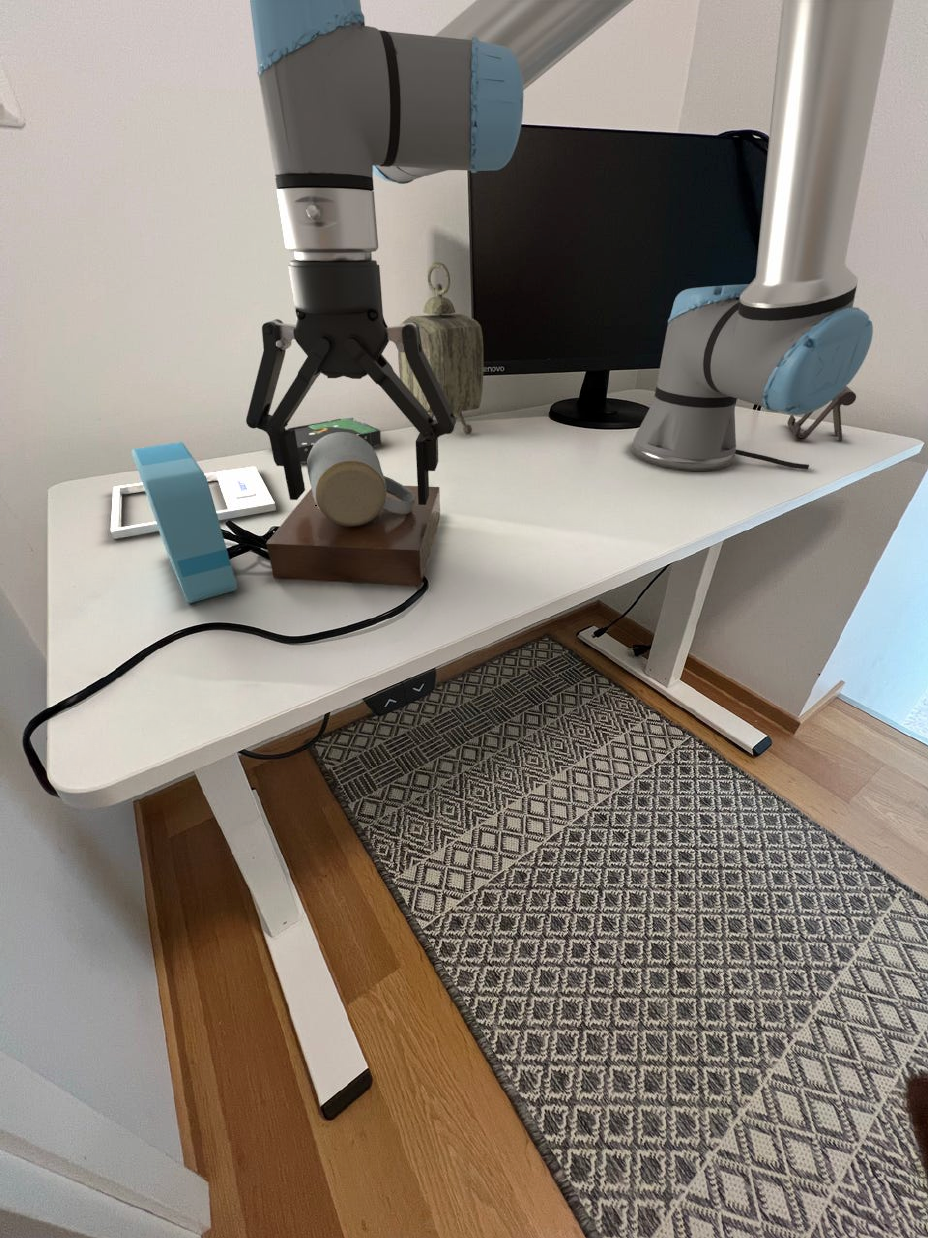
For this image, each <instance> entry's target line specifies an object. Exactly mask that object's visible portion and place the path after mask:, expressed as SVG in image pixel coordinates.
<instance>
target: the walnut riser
mask: <svg viewBox="0 0 928 1238" xmlns="http://www.w3.org/2000/svg"><path fill="white" fill-rule="evenodd" d="M404 486H405V487H406V488H407V489H409V490H410V491H411V492H412V493H413V495H414V497H415V502H414V505H413V507H412V510H411V511H410V512H409V513H408V514H395V513H390V512H387V511H385V510H381V511H380V513H379V514H378V515H377V516H376V517H375V518H374V519H373V520H371V521H370V522H368V523H366V524H363V525H360V526H350V527H347V526H342V525H338V524H336V523H334V522H332V521H330V520H329V519H328V518H326V517H325V516H324V515H323V514H322V512H321V511H320V509H319V508H318V507H317V506H315V505H316V503H315V500H314V497H313V493H312V488H311V487H310V489H309V490H308V492H307V493H306V494H305V495H304V496H303V498H302V499H301V500H300V501H299V503H298V504H297V505H296V506H295V507H294V509H293V510H292V511H291V512H290V514H289V515H288V516H287V517H286V519H285V520H284V521H283V522H282V524H280V526H279V527H278V528H277V530H276V531H275V532H274V533H273V534H272V536H271V537H270V538H269V539H268V540H267V542H266V543H265V544H266V545H265V546H266V550H267V554H268V558H269V562H270V567H271V571H272V576H273V579H275V580H290V581H293V580H294V581H314V582H332V583H333V582H334V583H351V584H352V583H353V584H373V585H390V586H391V585H392V586H395V585H396V586H411V587H412V586H414V587H415V586H416V587H422V585H423V581H424V577H425V574H426V570H427V566H428V562H429V559H430V555H431V552H432V548H433V546H434V541H435V537H436V534H437V530H438V526H439V523H440V519H441V498H440V497H441V496H440V492H441V491H440V486H429V497H428V500H427V503H426V505H418V485H404ZM386 495H387V497H389V498H393V499H397V500H400V499H399V498H397V497H395V496H394V495H392V494H390V493H388V492H386ZM401 501H402V500H401Z"/></svg>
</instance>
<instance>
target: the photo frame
mask: <svg viewBox="0 0 928 1238" xmlns="http://www.w3.org/2000/svg"><path fill="white" fill-rule="evenodd" d="M204 475H205V477H206V479H207V482H208V483H209V482H213V481H217V482H218V484H219V487H220V490H221V492H222V495H223V496H222V497H223V499H224V502H225V505H226V507H227V509H221V510H216V512H217V516H218V520H219V521H224V520H228V519H235V518H241V517H245V516H252V515H257V514H263V513H268V512H274V511H277V506H276V503H275V501H274V499H273V497H272V495H271V493H270V492H269V489H268V488H267V486H266V484H265V482H264V480H263V479H262V477H261V475H260V473H259V472H258V469H257V467H256V466H249V467H241V468H235V469H234V468H233V469H228V470H221V471H214V472H213V471H212V472H206V473H204ZM141 492H145V489H144V486H143V483H142V482H138V483H132V484H124V485H118V486H113V489H112V505H111V518H110V519H111V521H110V533H111V536H112V538H113V540H115V539H122V538H127V537H133V536H138V535H144V534H150V533H155V532H159V529H158V526H157V523H156V521H151V522H146V523H145V522H144V523H139V524H134V525H127V526H122V504H123V503H122V502H123V500H122V499H123V498H122V497H123V496H122V495H127V494H134V493H141Z"/></svg>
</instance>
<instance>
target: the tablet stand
mask: <svg viewBox="0 0 928 1238" xmlns="http://www.w3.org/2000/svg"><path fill="white" fill-rule="evenodd" d="M856 399H857V395H856V393H855V392H854V391H853V390H852V389H851V388H850V387H848V385H846V386H845V388H844V389H843V390H842V392H841V393H840V394H839V395H837V396H836V397H835V398H834V399H833V400H831V401H830V402H829V403H830V404H829V403H828V404H829V405H827V406H826V408H824V410H823V411H822V412H821V413H820V414H819V415H818V417H817V418H816V419H815V420H814V421H813V422H812V424H811V425H810V426H809V427H808V428H807V429H805V430H804V431H803V429H802V425H803V424H804V423H805V422H806V421H807V420H808V419H809V417H810V416H811V415H812V414H813V413H814V412H815V411H813V412H810V413H807V414H803V415H802V417H801V418H800V419H799V420H798V421H796V418H795V415H792V414H790V416H789V418H788V420H787V423H786V424H787V426H788V428H789V429H790V432H791V433H792V435H793V437H794V439H795V440H796V441H798V442H802V441H805V440H806V439H807V438H808V437H809V436H810V435H811V434H812V433H813V431H814V430H816V428H817V427H818V426H819V425H820V424H821V423H822V421H824V419H825V418H826V417H827V416H828V415H829V413H830V412H831V411H832V417H833V418H832V419H833V420H832V421H833V433H834V435H835V437H838V441H839V442H842V441H843V431H842V417H841V416H842V414H841V406H845V407H847V406H851V405H852V404H854V403H855V402H856Z"/></svg>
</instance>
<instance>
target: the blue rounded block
mask: <svg viewBox="0 0 928 1238" xmlns="http://www.w3.org/2000/svg"><path fill="white" fill-rule="evenodd" d="M131 454H132V457H133V460H134V464H135V466H136V469H137V472H138V475H139V477H140V481H141V483H143V486H144V489H145V491H144V492H145V494H146V495H145V496H146V497H147V500H148V504H149V506H150V508H151V512H152V514H153V518H154V520H155V522H156V523H157V526H158V529H159V531H158V532H159V535H160V537H161V540H162V544H163V546H164V548H165V551H166V554H167V557H168V559H169V562H170V564H171V567H172V569H173V572H174V574H175V576H176V579H177V581H178V583H179V584H178V585H179V586H180V588H181V591H182V594H183V596H184V598H185V600H186V603H188V604H191V603H195V602H196V603H197V602H200V601H202V600H206V599H210V598H213V597H217V596H221V595H224V594H228V593H231V592H235V591H237V588H238V587H237V585H238V584H237V581H236V578H235V574H234V570H233V567H232V563H231V559H230V556H229V552H228V548H227V544H226V542H225V537H224V534H223V531H222V527H221V523H220V520H218V516H217V512H216V511H217V510H216V509H217V508H216V505H215V502H214V499H213V495H212V491H211V488H210V486H209V481H208V482H207V479H206V477H205V475H204V474H205V473H204V471H203V469H202V468H201V466H200V465H199V464H198V463H197V461H196V460H195V458H194V457H193V455H192V454H191V452H190V451H189V450H188V448H187V447H186V445H185V444H184V442H183V441H178V442H172V443H165V444H158V445H152V446H146V447H145V446H144V447H137V448H133V449H132V450H131Z"/></svg>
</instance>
